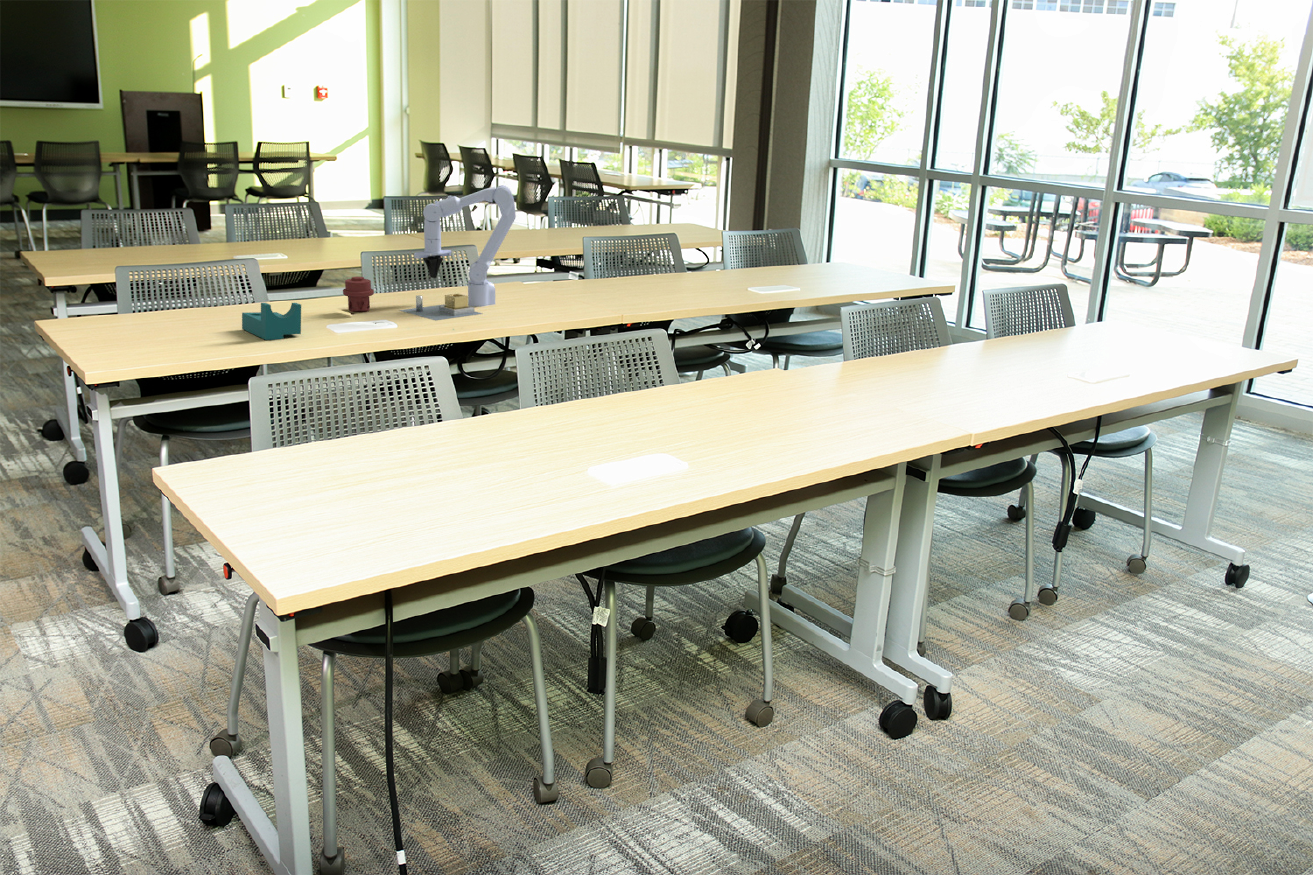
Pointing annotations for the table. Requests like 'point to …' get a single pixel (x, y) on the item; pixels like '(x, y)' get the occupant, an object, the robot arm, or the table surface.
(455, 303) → the brass collar
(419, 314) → the board
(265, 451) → the table surface
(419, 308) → the steel rod
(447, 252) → the robot arm
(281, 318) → the teal l-shaped bracket
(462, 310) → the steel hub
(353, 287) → the mechanical component
